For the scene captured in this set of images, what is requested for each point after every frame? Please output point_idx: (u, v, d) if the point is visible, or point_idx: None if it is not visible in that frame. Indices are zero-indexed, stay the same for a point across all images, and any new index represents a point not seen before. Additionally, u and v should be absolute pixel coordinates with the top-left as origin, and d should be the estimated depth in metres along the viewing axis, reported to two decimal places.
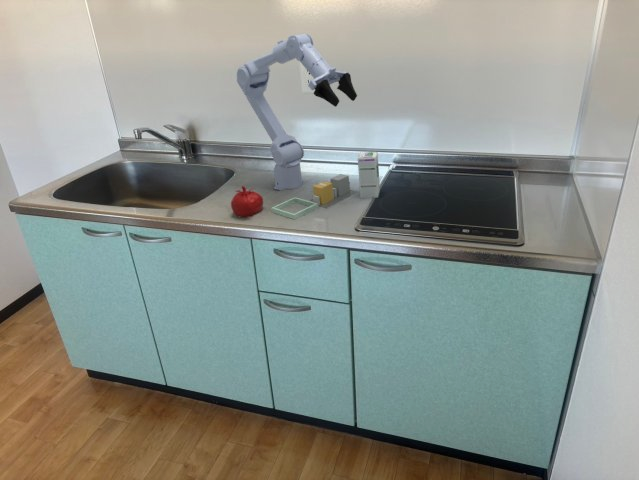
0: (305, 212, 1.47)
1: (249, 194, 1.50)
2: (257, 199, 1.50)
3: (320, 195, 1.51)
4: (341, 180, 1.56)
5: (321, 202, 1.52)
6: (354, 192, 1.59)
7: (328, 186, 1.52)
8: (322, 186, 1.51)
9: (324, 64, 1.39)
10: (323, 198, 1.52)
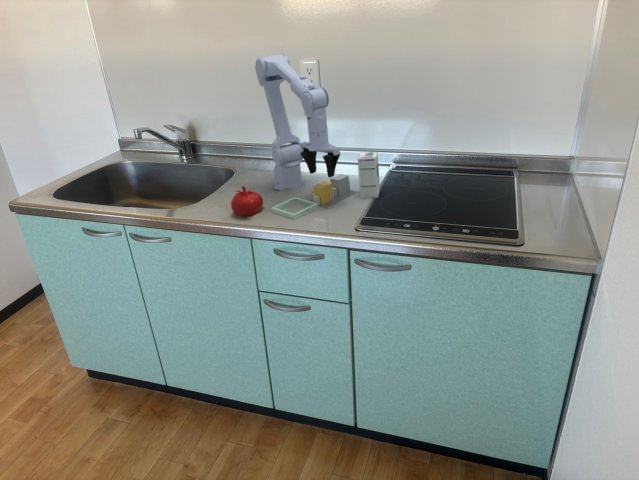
0: (305, 212, 1.47)
1: (249, 194, 1.50)
2: (257, 199, 1.50)
3: (320, 195, 1.51)
4: (341, 180, 1.56)
5: (321, 202, 1.52)
6: (354, 192, 1.59)
7: (328, 186, 1.52)
8: (322, 186, 1.51)
9: (311, 139, 1.44)
10: (323, 198, 1.52)
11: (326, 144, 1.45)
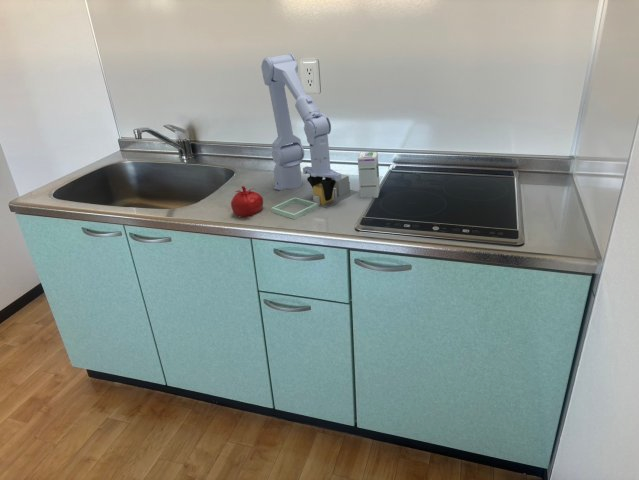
0: (305, 212, 1.47)
1: (249, 194, 1.50)
2: (257, 199, 1.50)
3: (320, 195, 1.51)
4: (341, 180, 1.56)
5: (321, 202, 1.52)
6: (354, 192, 1.59)
7: None
8: None
9: (313, 165, 1.48)
10: (323, 198, 1.52)
11: (328, 170, 1.49)
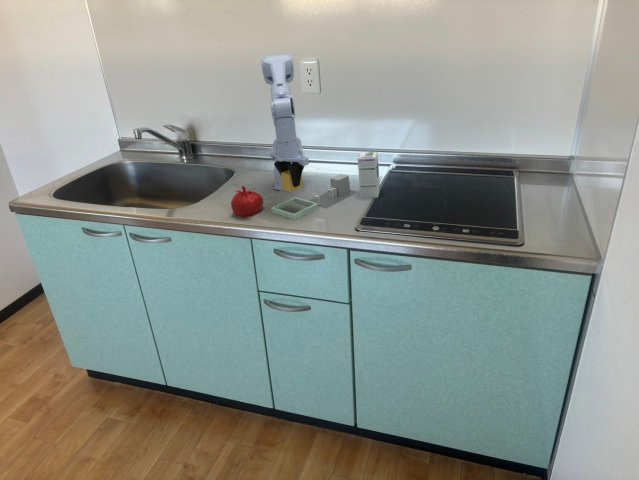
0: (305, 212, 1.47)
1: (249, 194, 1.50)
2: (257, 199, 1.50)
3: (288, 182, 1.44)
4: (341, 180, 1.56)
5: (289, 189, 1.45)
6: (354, 192, 1.59)
7: None
8: None
9: (279, 148, 1.40)
10: (291, 185, 1.45)
11: (295, 154, 1.41)
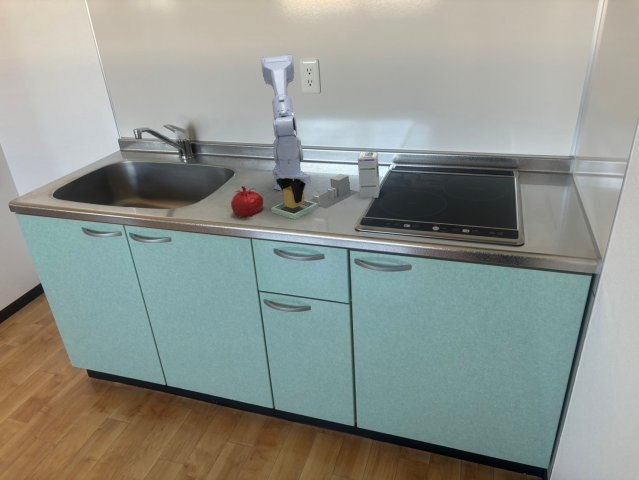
0: (305, 212, 1.47)
1: (249, 194, 1.50)
2: (257, 199, 1.50)
3: (290, 198, 1.46)
4: (341, 180, 1.56)
5: (291, 205, 1.47)
6: (354, 192, 1.59)
7: None
8: None
9: (281, 166, 1.43)
10: (293, 201, 1.47)
11: (297, 171, 1.43)
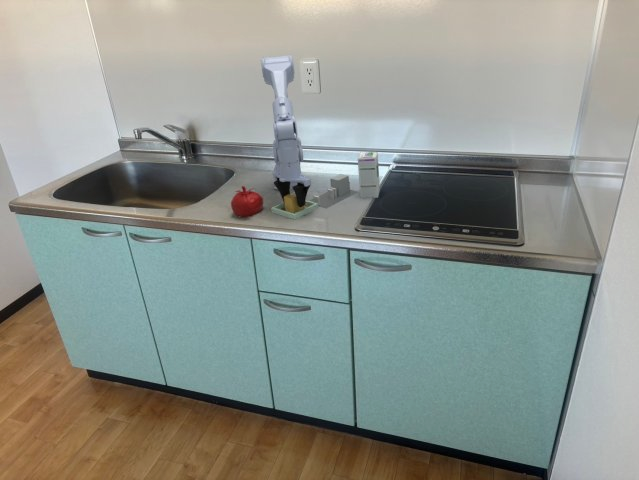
0: (305, 212, 1.47)
1: (249, 194, 1.50)
2: (257, 199, 1.50)
3: (291, 205, 1.47)
4: (341, 180, 1.56)
5: None
6: (354, 192, 1.59)
7: None
8: (293, 196, 1.47)
9: (281, 169, 1.43)
10: (294, 209, 1.48)
11: (297, 174, 1.44)
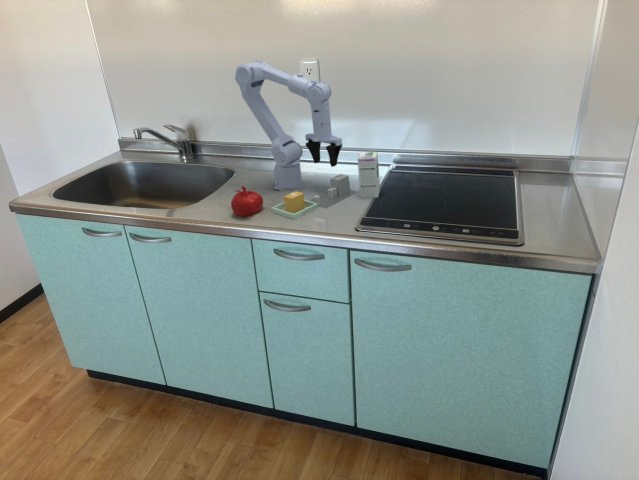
0: (305, 212, 1.47)
1: (249, 194, 1.50)
2: (257, 199, 1.50)
3: (291, 205, 1.47)
4: (341, 180, 1.56)
5: None
6: (354, 192, 1.59)
7: (299, 196, 1.48)
8: (293, 196, 1.47)
9: (315, 130, 1.54)
10: (294, 209, 1.48)
11: (329, 135, 1.55)
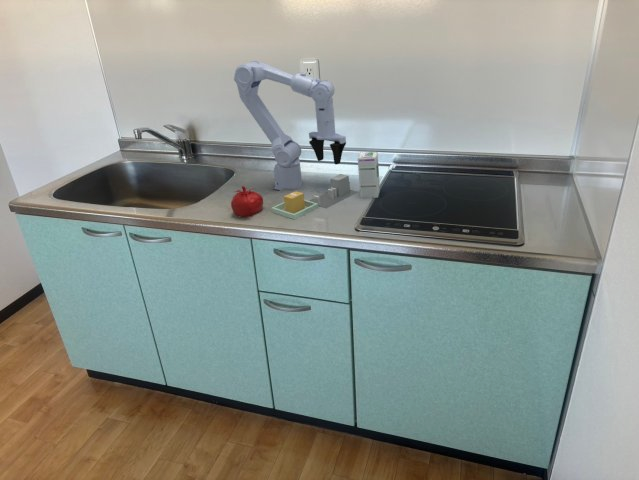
0: (305, 212, 1.47)
1: (249, 194, 1.50)
2: (257, 199, 1.50)
3: (291, 205, 1.47)
4: (341, 180, 1.56)
5: None
6: (354, 192, 1.59)
7: (299, 196, 1.48)
8: (293, 196, 1.47)
9: (319, 128, 1.56)
10: (294, 209, 1.48)
11: (333, 133, 1.56)
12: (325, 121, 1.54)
